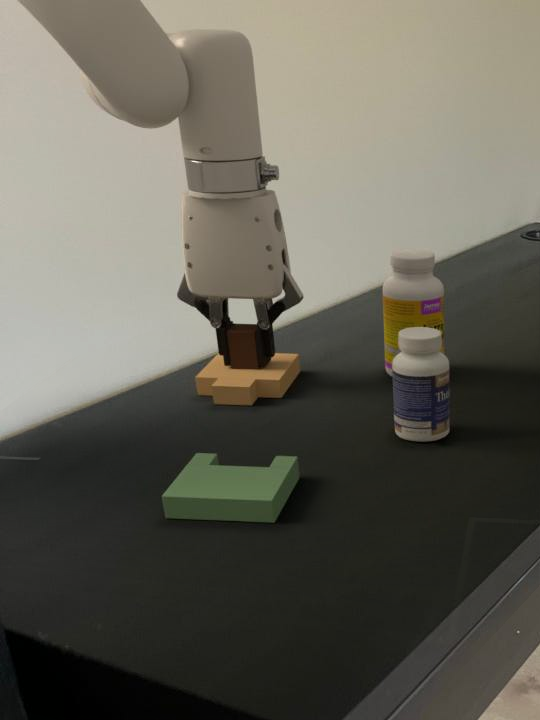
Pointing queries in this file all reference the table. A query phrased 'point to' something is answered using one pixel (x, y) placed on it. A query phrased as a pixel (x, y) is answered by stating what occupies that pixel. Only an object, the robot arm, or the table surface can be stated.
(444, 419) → the pill bottle
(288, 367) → the tan pad
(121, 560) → the table surface
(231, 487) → the green pad
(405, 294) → the supplement bottle
